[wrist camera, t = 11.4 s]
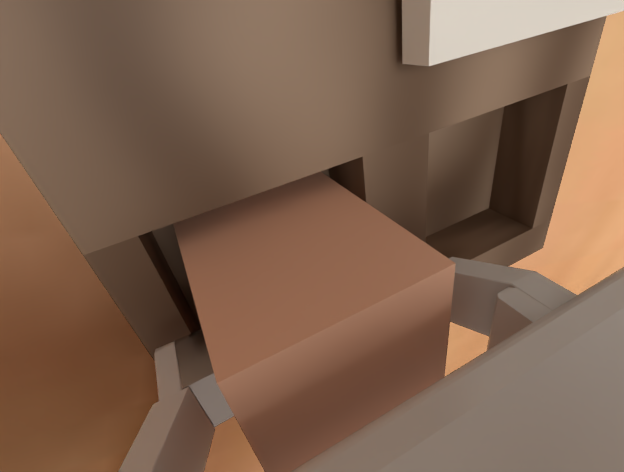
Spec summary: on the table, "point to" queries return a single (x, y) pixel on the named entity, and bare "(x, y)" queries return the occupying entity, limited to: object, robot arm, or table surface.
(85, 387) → the table surface
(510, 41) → the lid
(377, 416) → the block
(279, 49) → the board
